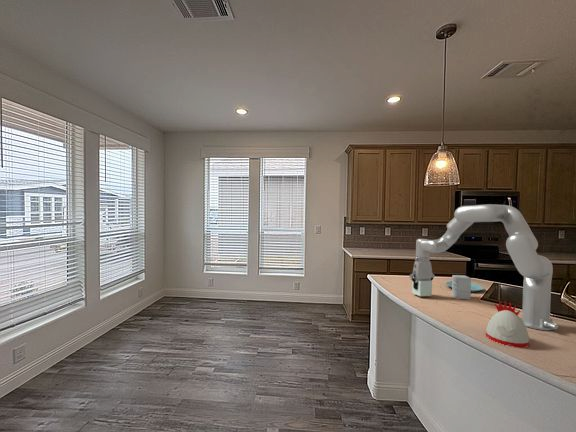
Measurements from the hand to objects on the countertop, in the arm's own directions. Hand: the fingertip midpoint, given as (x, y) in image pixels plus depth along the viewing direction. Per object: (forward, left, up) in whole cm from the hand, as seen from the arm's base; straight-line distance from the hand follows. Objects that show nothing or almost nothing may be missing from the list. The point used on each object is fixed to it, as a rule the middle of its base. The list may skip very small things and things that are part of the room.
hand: (421, 288), depth 176 cm
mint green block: (0, 0, -3) cm, 3 cm away
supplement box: (-6, -22, -5) cm, 23 cm away
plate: (+11, -40, -5) cm, 42 cm away
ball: (-1, 0, -2) cm, 2 cm away
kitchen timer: (-59, +5, -5) cm, 60 cm away
